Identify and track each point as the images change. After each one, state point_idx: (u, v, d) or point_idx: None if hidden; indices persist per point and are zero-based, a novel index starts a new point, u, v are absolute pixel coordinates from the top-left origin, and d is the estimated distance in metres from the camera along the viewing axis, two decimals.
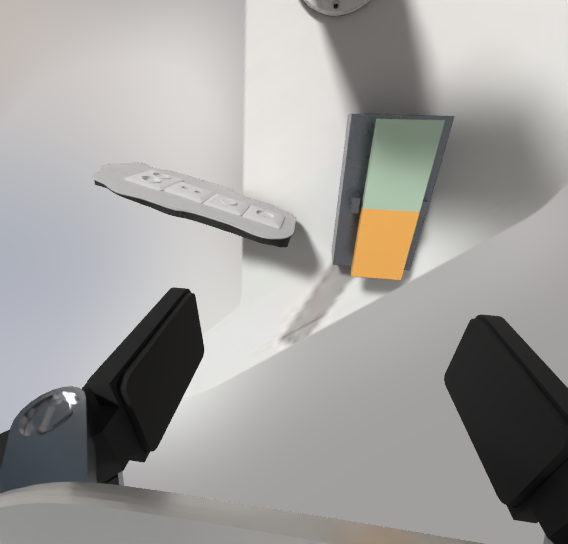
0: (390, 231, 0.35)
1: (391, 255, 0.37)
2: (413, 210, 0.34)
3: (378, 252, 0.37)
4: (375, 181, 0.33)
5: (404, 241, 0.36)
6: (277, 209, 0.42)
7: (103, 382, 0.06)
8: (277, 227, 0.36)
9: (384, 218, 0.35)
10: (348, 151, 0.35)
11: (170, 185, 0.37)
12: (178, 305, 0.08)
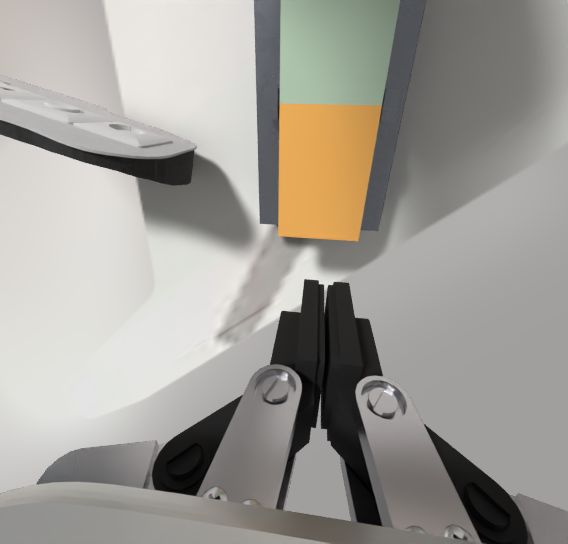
0: (333, 149, 0.20)
1: (339, 196, 0.22)
2: (370, 102, 0.18)
3: (316, 190, 0.21)
4: (294, 40, 0.17)
5: (359, 167, 0.20)
6: (170, 135, 0.27)
7: (311, 360, 0.06)
8: (135, 144, 0.20)
9: (320, 122, 0.19)
10: (256, 3, 0.19)
11: None
12: (320, 295, 0.09)
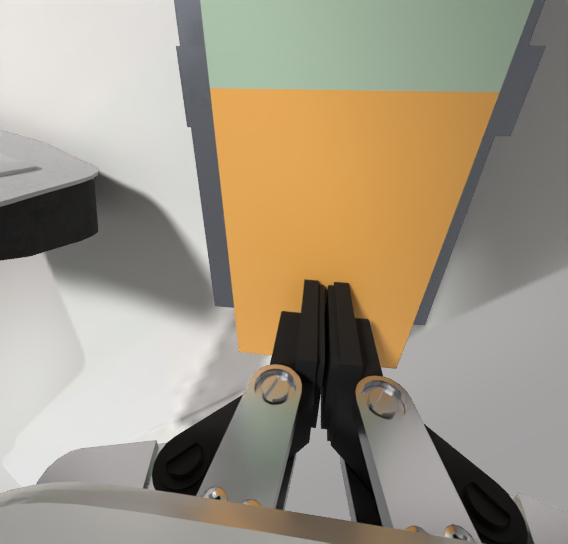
0: (352, 203, 0.08)
1: (361, 296, 0.10)
2: (466, 85, 0.06)
3: None
4: None
5: (412, 244, 0.09)
6: (51, 153, 0.15)
7: (311, 360, 0.06)
8: None
9: (320, 139, 0.07)
10: None
11: None
12: (320, 295, 0.09)
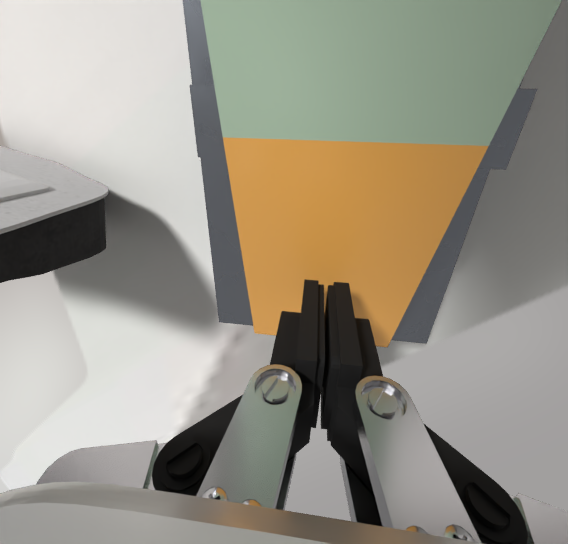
0: (352, 228, 0.09)
1: (359, 296, 0.11)
2: (458, 139, 0.07)
3: None
4: None
5: (404, 260, 0.10)
6: (63, 173, 0.16)
7: (311, 360, 0.06)
8: None
9: (323, 179, 0.08)
10: None
11: None
12: (320, 295, 0.09)
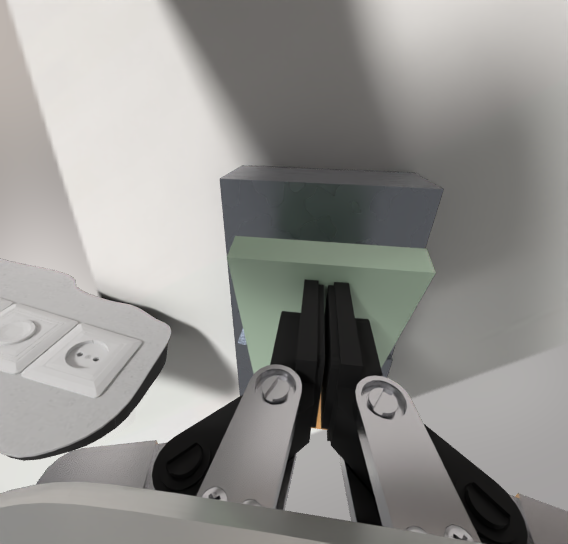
0: None
1: None
2: None
3: None
4: (264, 350, 0.14)
5: None
6: (142, 318, 0.25)
7: (311, 360, 0.06)
8: (92, 395, 0.18)
9: None
10: (229, 247, 0.17)
11: None
12: (320, 295, 0.09)
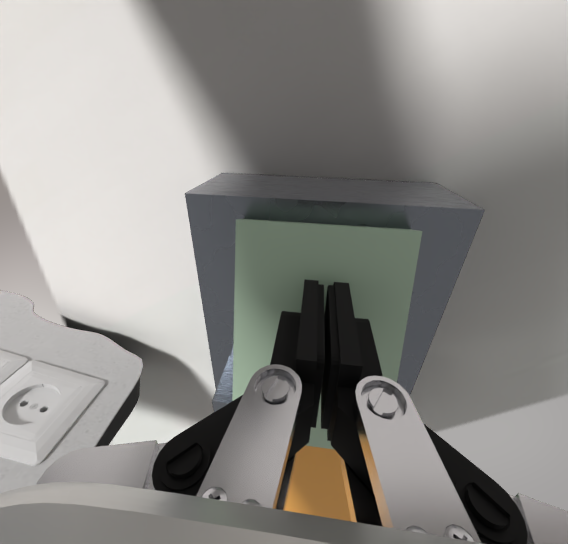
0: (312, 495, 0.13)
1: None
2: None
3: None
4: (253, 373, 0.12)
5: None
6: (109, 351, 0.21)
7: (311, 360, 0.06)
8: (31, 462, 0.14)
9: None
10: (202, 278, 0.13)
11: None
12: (320, 295, 0.09)
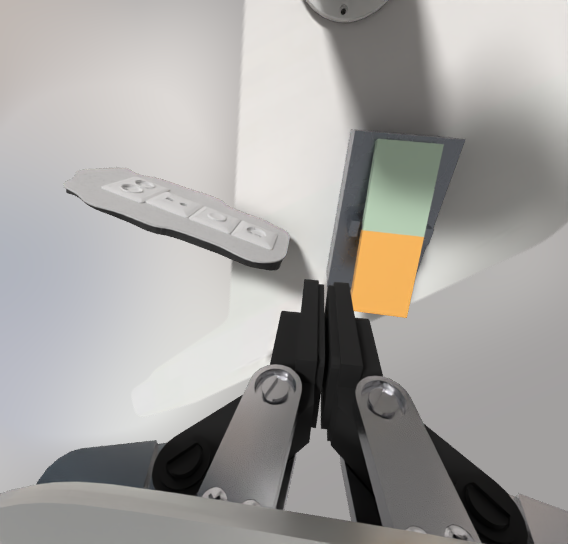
0: (393, 257, 0.32)
1: (395, 286, 0.32)
2: (417, 235, 0.31)
3: (380, 281, 0.33)
4: (375, 201, 0.31)
5: (409, 270, 0.32)
6: (270, 225, 0.40)
7: (311, 360, 0.06)
8: (269, 248, 0.33)
9: (386, 242, 0.32)
10: (349, 170, 0.32)
11: (153, 196, 0.34)
12: (320, 295, 0.09)
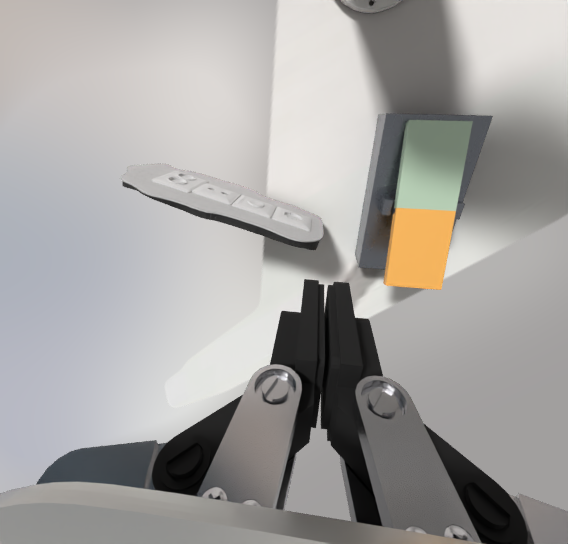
0: (426, 232, 0.34)
1: (429, 260, 0.34)
2: (449, 209, 0.33)
3: (414, 256, 0.34)
4: (408, 179, 0.33)
5: (442, 243, 0.34)
6: (302, 211, 0.42)
7: (311, 360, 0.06)
8: (307, 229, 0.35)
9: (419, 218, 0.33)
10: (380, 152, 0.34)
11: (197, 186, 0.36)
12: (320, 295, 0.09)
